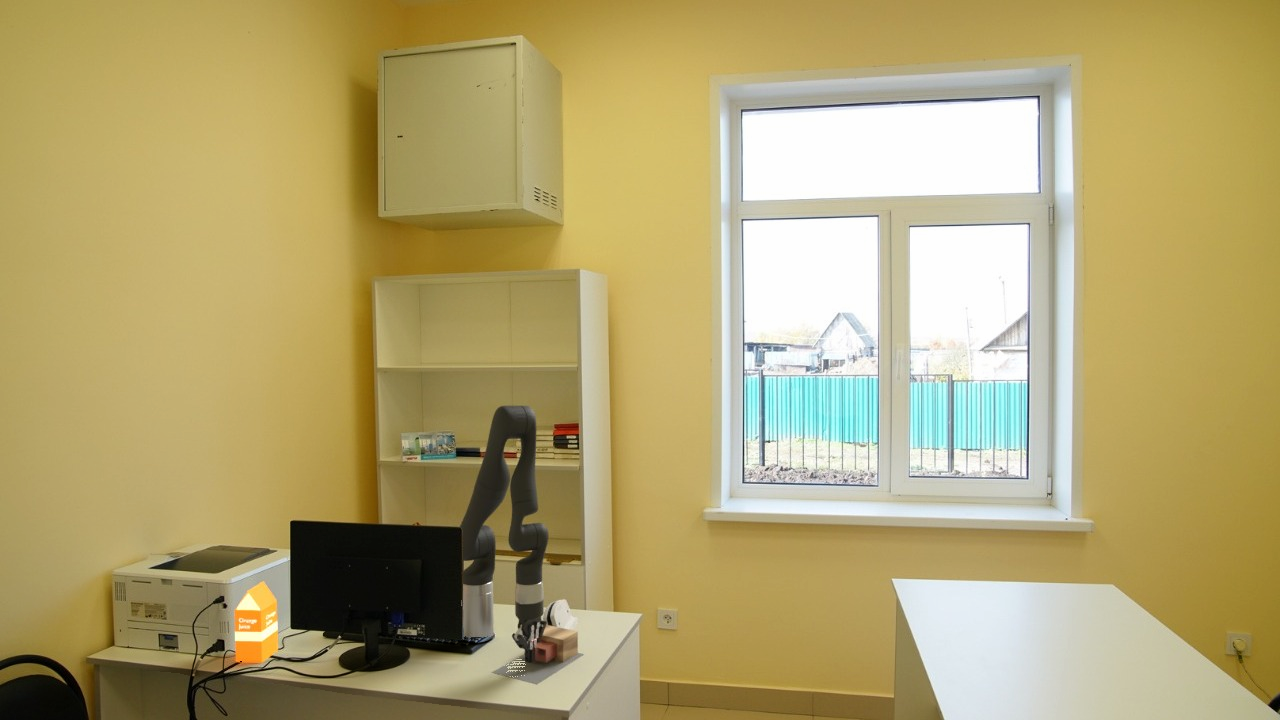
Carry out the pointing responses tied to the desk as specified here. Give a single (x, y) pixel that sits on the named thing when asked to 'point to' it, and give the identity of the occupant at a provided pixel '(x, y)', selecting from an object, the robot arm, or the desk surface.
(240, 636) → the orange juice
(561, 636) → the wooden block
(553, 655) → the pin
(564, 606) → the white rounded piece
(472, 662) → the desk surface
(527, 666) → the mat
